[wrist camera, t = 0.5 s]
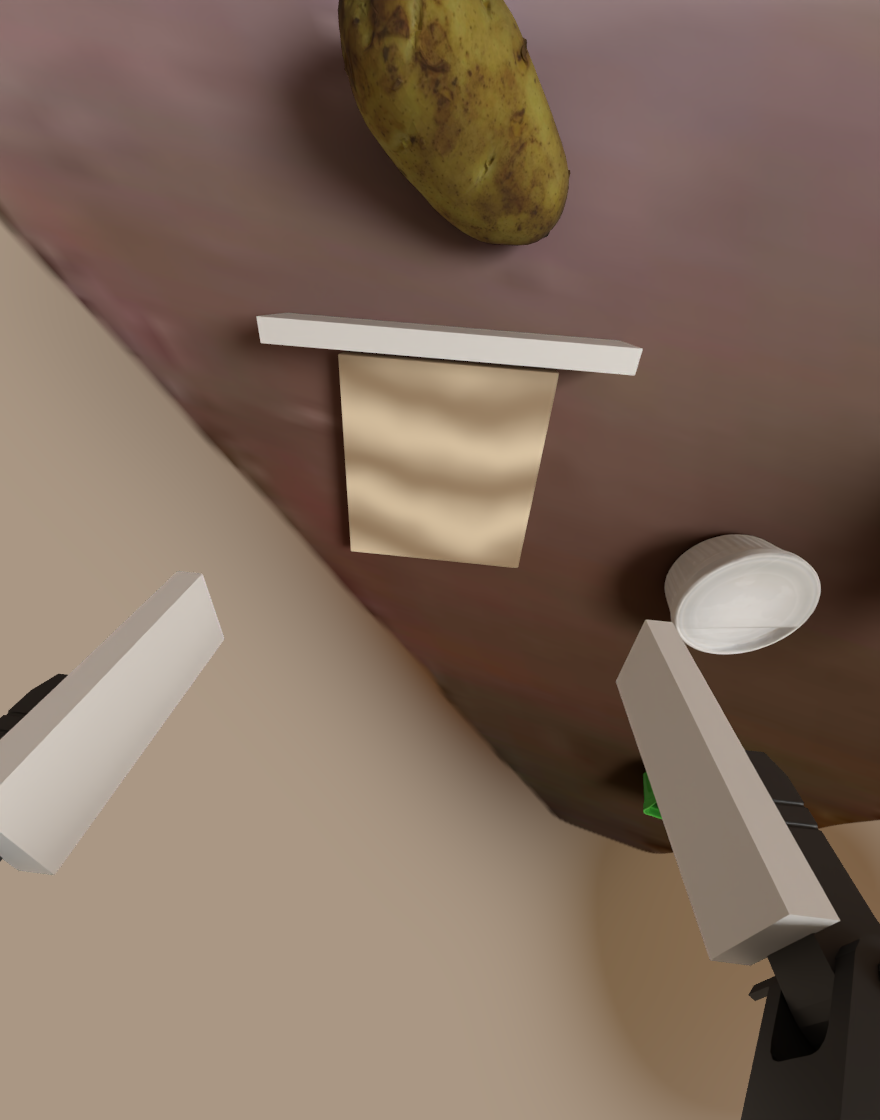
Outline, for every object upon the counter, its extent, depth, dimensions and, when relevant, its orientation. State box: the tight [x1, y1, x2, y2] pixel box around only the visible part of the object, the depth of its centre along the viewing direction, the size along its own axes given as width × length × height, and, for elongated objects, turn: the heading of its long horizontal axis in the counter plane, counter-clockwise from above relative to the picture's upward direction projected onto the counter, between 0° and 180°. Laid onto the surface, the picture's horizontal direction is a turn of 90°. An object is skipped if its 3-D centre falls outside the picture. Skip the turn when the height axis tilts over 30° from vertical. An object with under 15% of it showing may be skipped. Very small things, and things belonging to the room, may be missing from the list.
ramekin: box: [665, 534, 821, 654], centre depth 37 cm, size 11×11×5 cm
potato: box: [338, 0, 570, 245], centre depth 21 cm, size 8×13×8 cm, turn 32°
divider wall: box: [256, 313, 643, 375], centre depth 27 cm, size 2×24×5 cm, turn 86°
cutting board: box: [338, 352, 559, 568], centre depth 35 cm, size 17×16×2 cm
